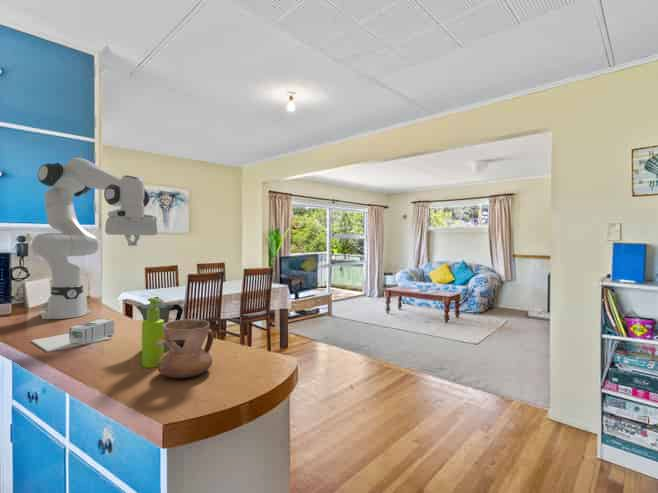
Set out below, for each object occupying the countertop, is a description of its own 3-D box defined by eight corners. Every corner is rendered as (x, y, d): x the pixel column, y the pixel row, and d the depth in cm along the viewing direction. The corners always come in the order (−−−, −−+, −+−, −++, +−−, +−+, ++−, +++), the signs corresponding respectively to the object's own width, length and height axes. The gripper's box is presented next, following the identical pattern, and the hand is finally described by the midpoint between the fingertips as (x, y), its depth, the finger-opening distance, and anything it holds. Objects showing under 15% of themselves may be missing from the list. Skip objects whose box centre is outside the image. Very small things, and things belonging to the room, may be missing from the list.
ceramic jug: (172, 390, 88) (174, 334, 88) (141, 376, 96) (143, 324, 96) (228, 369, 103) (230, 321, 103) (197, 359, 111) (199, 314, 111)
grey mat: (31, 341, 125) (31, 340, 125) (91, 330, 140) (91, 329, 140) (47, 352, 114) (47, 350, 114) (111, 339, 129) (111, 337, 129)
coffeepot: (128, 354, 113) (129, 299, 113) (143, 345, 123) (143, 294, 122) (176, 354, 114) (177, 299, 114) (187, 345, 123) (188, 295, 123)
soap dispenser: (151, 370, 101) (151, 301, 100) (137, 365, 104) (138, 298, 104) (169, 364, 106) (170, 298, 105) (156, 359, 109) (156, 295, 109)
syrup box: (115, 318, 135) (83, 327, 120) (114, 334, 135) (83, 344, 120) (101, 318, 136) (68, 326, 121) (101, 333, 136) (68, 343, 121)
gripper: (153, 215, 160) (152, 245, 161) (103, 212, 144) (103, 245, 144) (160, 215, 157) (159, 245, 157) (110, 211, 140) (110, 246, 141)
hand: (132, 245), depth 151 cm, fingers closed
